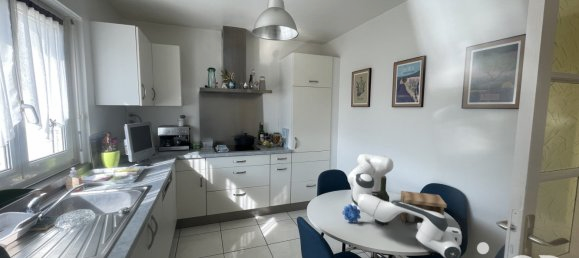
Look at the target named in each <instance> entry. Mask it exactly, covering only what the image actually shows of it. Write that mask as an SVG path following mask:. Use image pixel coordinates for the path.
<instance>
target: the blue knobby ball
mask: <svg viewBox="0 0 579 258" xmlns="http://www.w3.org/2000/svg"><path fill="white" fill-rule="evenodd" d="M360 214H361V210H359V209H357V206H355V205H354V206H353V207H352V205H351V203H349V204H348V205H347V206H346V205H345V206H344V207H343V211H342V215H343V216H344V217H343V218H344V219H345V221H348V222H349V223H351V224H353V222H354V223H358V221H359V220H360V219H361V215H360Z"/></svg>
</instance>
